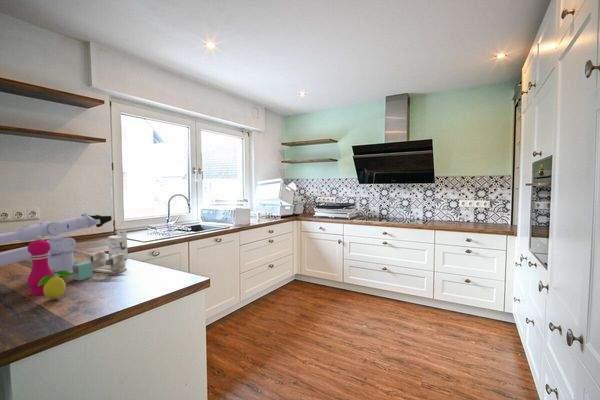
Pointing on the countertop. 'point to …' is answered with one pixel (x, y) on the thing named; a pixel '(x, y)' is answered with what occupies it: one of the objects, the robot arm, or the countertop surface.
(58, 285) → the lemon
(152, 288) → the countertop surface
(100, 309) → the countertop surface
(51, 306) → the countertop surface
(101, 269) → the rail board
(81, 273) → the block
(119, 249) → the ink box
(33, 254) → the pepper mill
